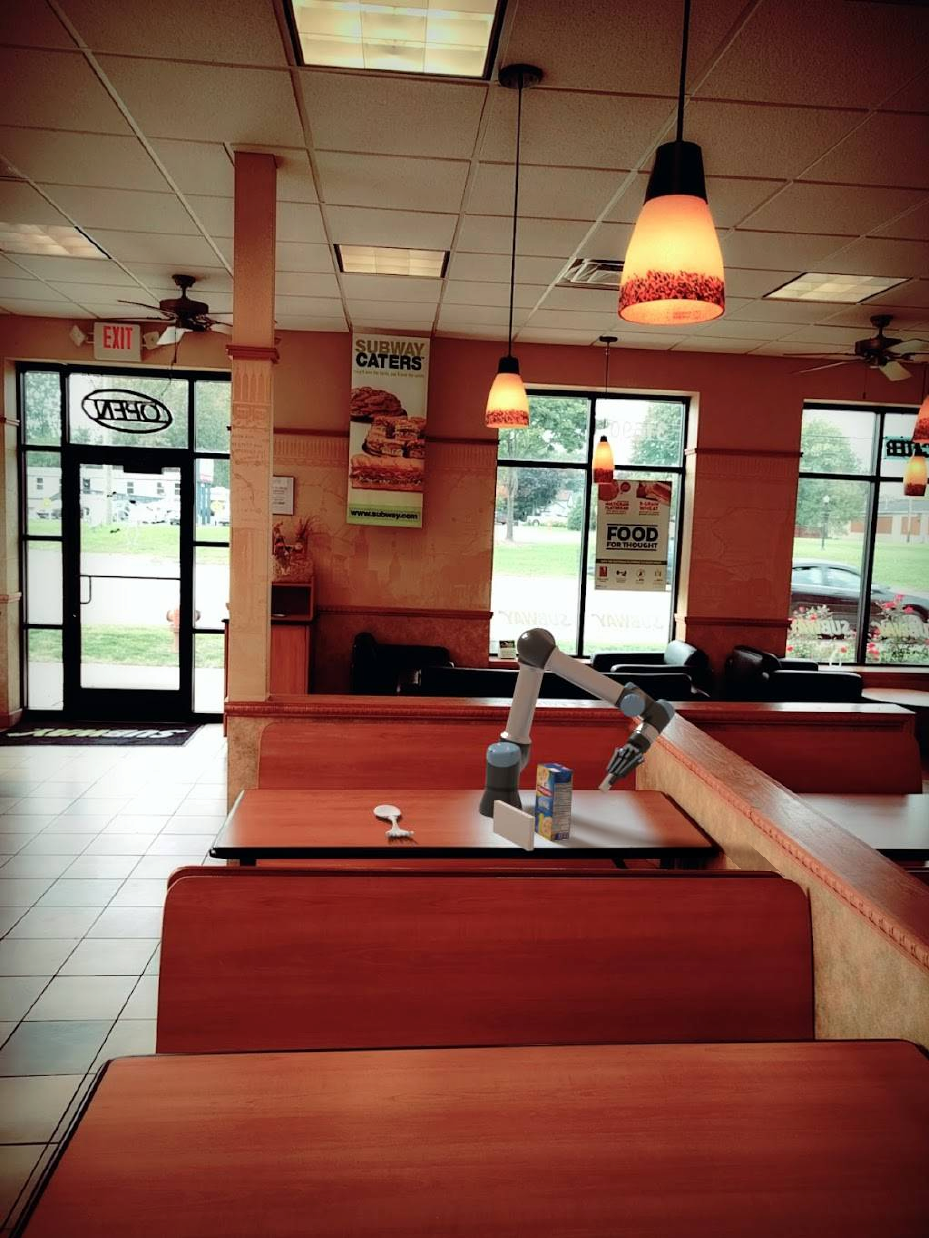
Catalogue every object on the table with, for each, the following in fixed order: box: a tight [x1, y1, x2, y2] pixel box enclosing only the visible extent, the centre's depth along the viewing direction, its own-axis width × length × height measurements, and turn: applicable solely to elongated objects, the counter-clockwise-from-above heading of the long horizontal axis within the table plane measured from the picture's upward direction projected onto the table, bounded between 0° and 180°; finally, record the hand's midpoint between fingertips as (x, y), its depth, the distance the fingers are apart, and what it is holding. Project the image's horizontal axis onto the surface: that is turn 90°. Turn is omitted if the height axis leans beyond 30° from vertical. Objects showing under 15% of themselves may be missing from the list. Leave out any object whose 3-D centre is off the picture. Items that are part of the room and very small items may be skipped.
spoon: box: [373, 804, 415, 837], centre depth 270 cm, size 9×32×3 cm, turn 14°
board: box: [492, 800, 536, 852], centre depth 261 cm, size 20×2×10 cm, turn 30°
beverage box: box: [534, 762, 574, 842], centre depth 268 cm, size 7×11×22 cm, turn 25°
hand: (601, 790), depth 278 cm, fingers closed
